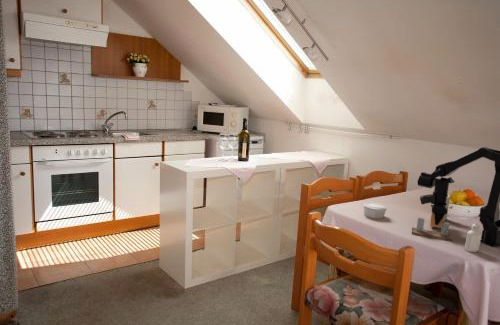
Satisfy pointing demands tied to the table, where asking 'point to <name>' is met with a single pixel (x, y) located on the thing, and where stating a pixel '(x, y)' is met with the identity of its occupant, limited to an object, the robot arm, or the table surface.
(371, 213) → the ramekin
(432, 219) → the orange block
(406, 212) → the table surface
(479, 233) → the eye dropper bottle
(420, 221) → the far post
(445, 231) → the near post
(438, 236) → the board
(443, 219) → the skincare box
